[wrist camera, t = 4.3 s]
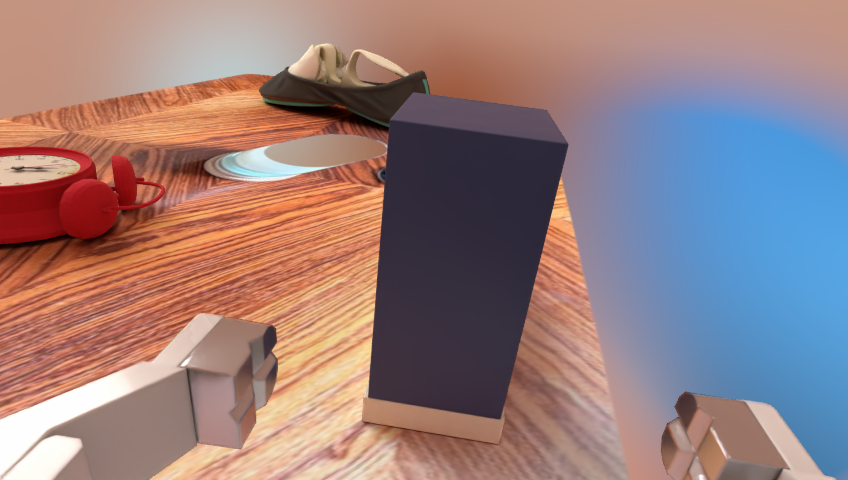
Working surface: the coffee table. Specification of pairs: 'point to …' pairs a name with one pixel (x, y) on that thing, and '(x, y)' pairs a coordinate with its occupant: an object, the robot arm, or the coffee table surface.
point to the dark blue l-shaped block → (458, 260)
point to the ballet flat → (342, 84)
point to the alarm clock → (61, 194)
